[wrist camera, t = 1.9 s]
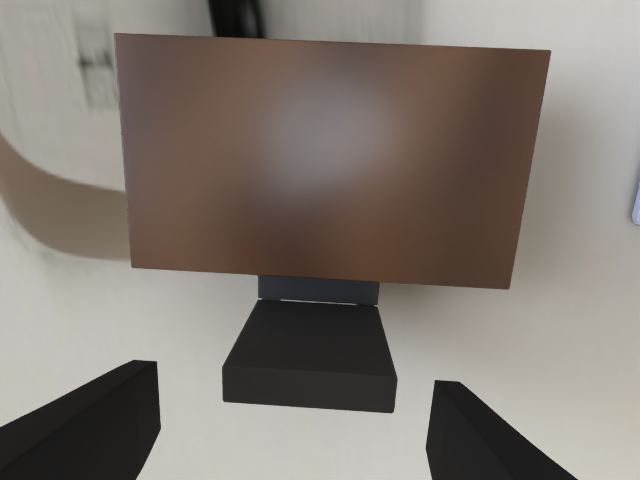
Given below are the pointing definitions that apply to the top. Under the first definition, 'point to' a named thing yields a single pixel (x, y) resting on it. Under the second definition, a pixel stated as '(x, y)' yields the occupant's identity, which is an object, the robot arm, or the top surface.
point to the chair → (312, 348)
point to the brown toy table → (327, 157)
